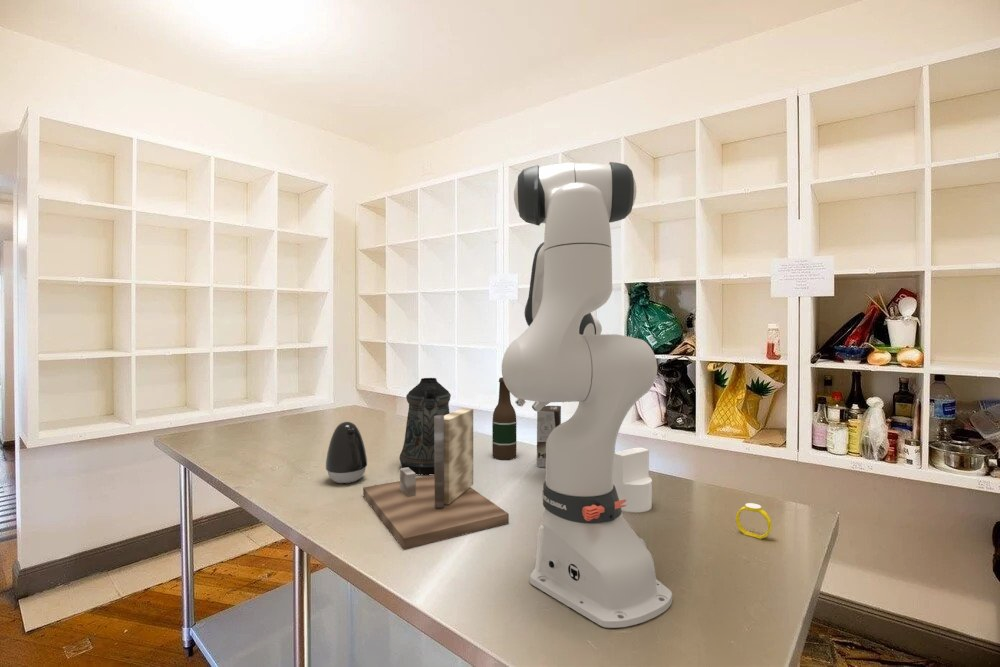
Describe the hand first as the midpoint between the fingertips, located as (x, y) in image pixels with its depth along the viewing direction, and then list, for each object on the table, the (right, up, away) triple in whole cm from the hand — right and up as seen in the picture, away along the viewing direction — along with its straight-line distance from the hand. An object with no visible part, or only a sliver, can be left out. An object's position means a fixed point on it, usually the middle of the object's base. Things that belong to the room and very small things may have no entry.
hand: (526, 407), depth 118 cm
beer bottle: (-5, -19, +25) cm, 32 cm away
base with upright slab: (+23, -20, -12) cm, 33 cm away
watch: (+42, -21, -27) cm, 54 cm away
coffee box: (+8, -19, +19) cm, 28 cm away
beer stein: (-26, -19, +15) cm, 35 cm away
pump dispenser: (-46, -20, +4) cm, 50 cm away
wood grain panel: (-17, -18, -12) cm, 27 cm away
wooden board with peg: (-22, -20, -14) cm, 33 cm away
